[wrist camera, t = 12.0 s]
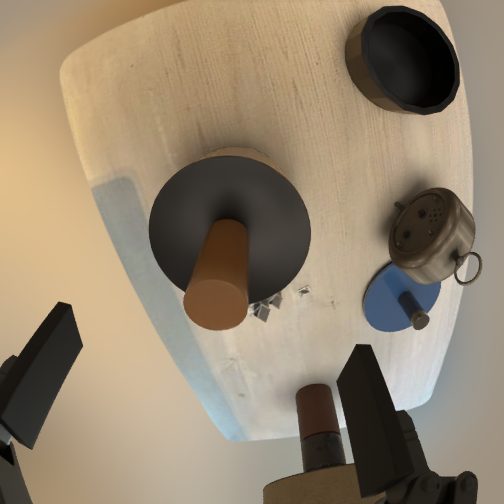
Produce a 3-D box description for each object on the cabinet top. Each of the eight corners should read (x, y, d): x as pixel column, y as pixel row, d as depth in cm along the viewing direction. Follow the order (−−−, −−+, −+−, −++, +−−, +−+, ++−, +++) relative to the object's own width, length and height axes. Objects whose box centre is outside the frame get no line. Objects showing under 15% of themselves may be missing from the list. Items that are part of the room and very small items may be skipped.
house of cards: (271, 328, 42) (274, 367, 35) (224, 299, 40) (218, 337, 33) (314, 289, 39) (325, 326, 32) (265, 254, 37) (268, 288, 30)
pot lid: (355, 273, 38) (372, 304, 32) (436, 241, 36) (462, 265, 29) (367, 338, 44) (380, 369, 37) (437, 309, 41) (456, 335, 35)
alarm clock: (391, 254, 37) (450, 330, 22) (366, 233, 35) (425, 310, 21) (438, 193, 32) (518, 245, 18) (415, 168, 31) (501, 212, 17)
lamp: (265, 422, 55) (268, 567, 24) (256, 367, 46) (257, 572, 15) (355, 411, 54) (384, 548, 23) (371, 352, 45) (428, 537, 14)
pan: (328, 25, 24) (341, 10, 19) (414, 15, 22) (436, 5, 17) (366, 122, 29) (386, 125, 24) (445, 104, 27) (471, 105, 22)
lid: (127, 194, 23) (63, 244, 14) (276, 128, 21) (294, 138, 12) (195, 314, 29) (175, 394, 20) (325, 271, 26) (356, 350, 17)
